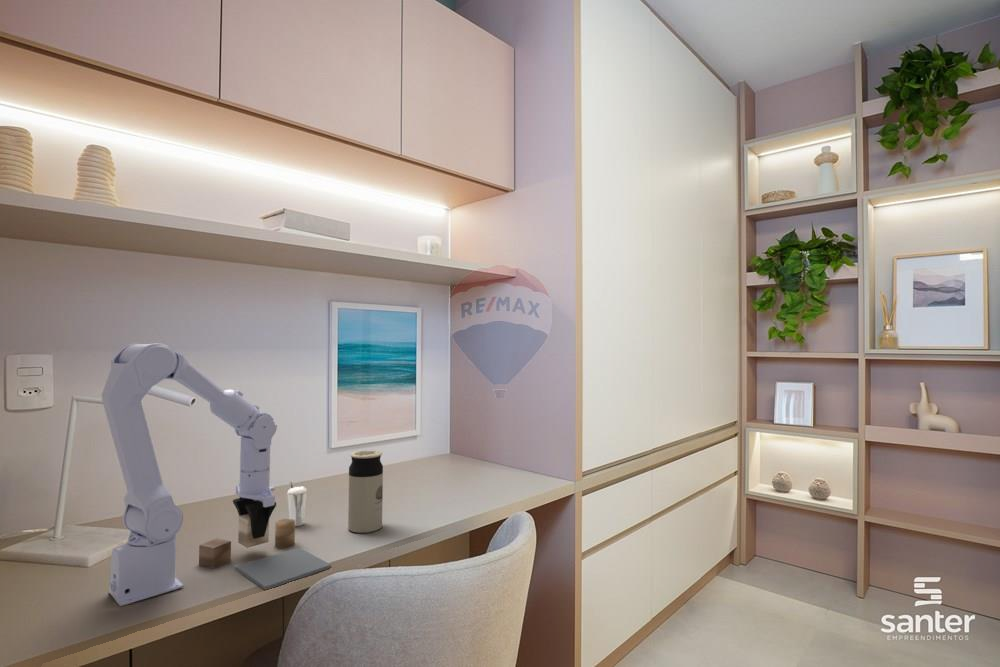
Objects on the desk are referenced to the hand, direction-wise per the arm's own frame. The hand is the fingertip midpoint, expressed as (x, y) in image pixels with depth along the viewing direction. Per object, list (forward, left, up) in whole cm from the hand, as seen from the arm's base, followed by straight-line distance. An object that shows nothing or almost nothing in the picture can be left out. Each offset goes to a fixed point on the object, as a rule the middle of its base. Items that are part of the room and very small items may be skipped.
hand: (253, 534), depth 109 cm
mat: (+1, -11, -4) cm, 12 cm away
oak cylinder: (+7, +1, -4) cm, 8 cm away
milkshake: (+15, +12, -4) cm, 19 cm away
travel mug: (+25, -3, -4) cm, 26 cm away
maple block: (0, 0, -2) cm, 2 cm away
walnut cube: (-7, +2, -4) cm, 8 cm away
